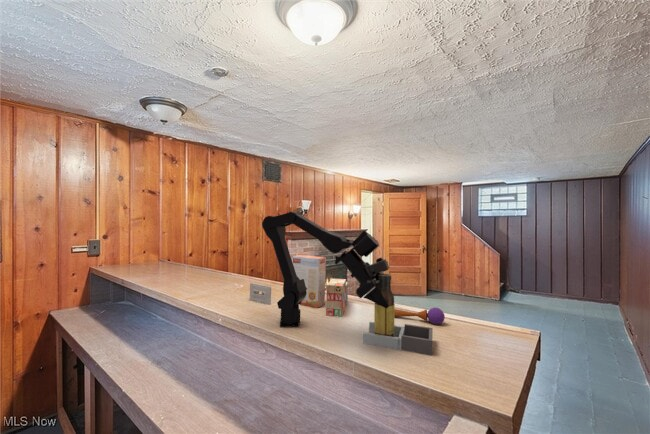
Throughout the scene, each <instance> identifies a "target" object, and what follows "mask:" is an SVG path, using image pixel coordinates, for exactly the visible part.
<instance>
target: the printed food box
mask: <svg viewBox="0 0 650 434" xmlns="http://www.w3.org/2000/svg"><path fill="white" fill-rule="evenodd" d="M348 284H349V282H348V281H347V279H345V278H331V279H330V281H329V282H328V283H327V284H326V305H325V306H326V307H325V316H326V317H327V316H329V317H337V316H338V317H337V318H339V317H343V315H344V312H345V309H346V307H345V306H347V304H348V300H349V298H348V295H349V285H348Z"/></svg>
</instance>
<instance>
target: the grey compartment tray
mask: <svg viewBox="0 0 650 434" xmlns="http://www.w3.org/2000/svg"><path fill="white" fill-rule="evenodd" d="M368 324H369V325H368V332H365V331H363V332H362V344H364V345H365V344H366V345H371V346H378V347H382V348H389V349H395V350H400V351H405V352H412V353H415V354H416V353H417V354H423V355H428V356H433V337H434V336H433V333H434V331H433V327H428V326H421V325H414V324H407V323H405V324H404V326H400V325H395V324H394V337H390V336H384V335H378V334H375V330H374V321H369V323H368Z"/></svg>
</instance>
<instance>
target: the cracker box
mask: <svg viewBox="0 0 650 434" xmlns="http://www.w3.org/2000/svg"><path fill="white" fill-rule="evenodd" d="M292 263H293V266H294V269H295V272H296V275H297V277H298V278H299V279H300V280H301V279H304V281H305V286H306V288H307V290H306V292H307V294H306V297H305V298H304V299H303V300H302V302H301V304H300V305H301V306H302V305H303V306H308V307H312V308H317V309H319V308H320V307H323V306H326V305H325V302H326V301H325V300H326V298H325V297H326V269H327V268H326V266H327V265H326V264H327V257H325V256H315V255H308V254H307V255H305V254H295V255H293V256H292Z"/></svg>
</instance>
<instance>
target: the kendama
mask: <svg viewBox="0 0 650 434" xmlns="http://www.w3.org/2000/svg"><path fill="white" fill-rule="evenodd" d="M399 317H400V318H402V317H403V318H404V317H418V318H420V319H422V320H423V321H426V322H428V321H429V322H430V323H431V324H433V325H441V324H442V323H444V321H445V319H446V318H445V313H444V311H443V310H442V309H440V308H438V307H432V308H430V309H429V310H427V309H424V310H422V311H419V312H414V311H413V312H412V311H407V310H401V309H396V308H394V318H399Z"/></svg>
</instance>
